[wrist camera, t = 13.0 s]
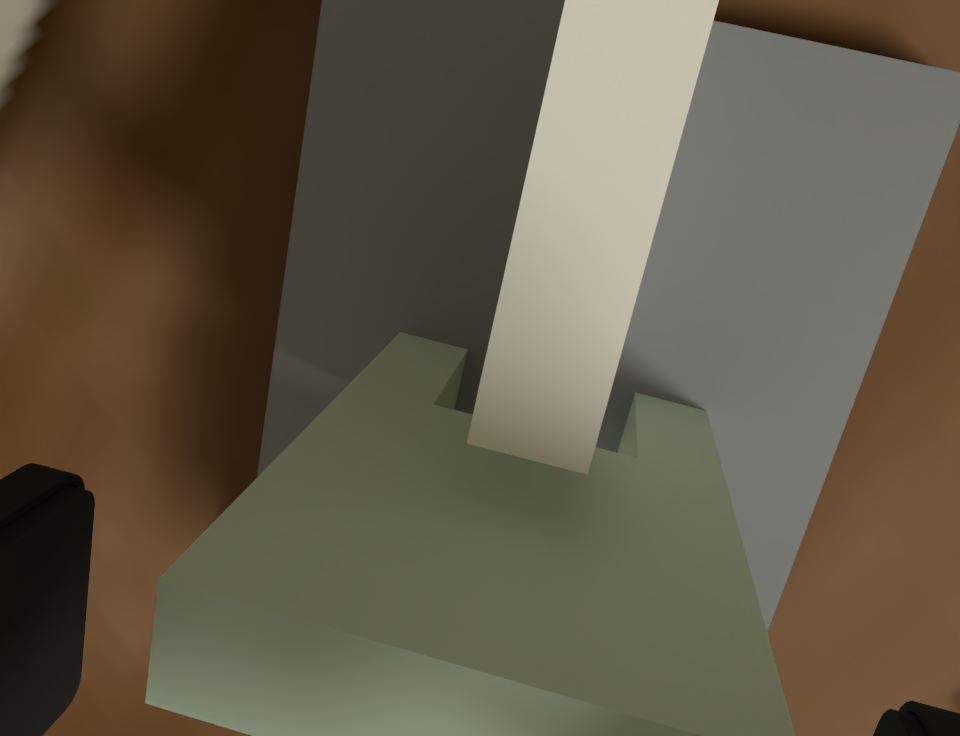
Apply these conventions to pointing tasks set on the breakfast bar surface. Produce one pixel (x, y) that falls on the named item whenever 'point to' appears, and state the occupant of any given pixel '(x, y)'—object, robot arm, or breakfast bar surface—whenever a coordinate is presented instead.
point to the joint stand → (609, 229)
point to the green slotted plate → (469, 582)
